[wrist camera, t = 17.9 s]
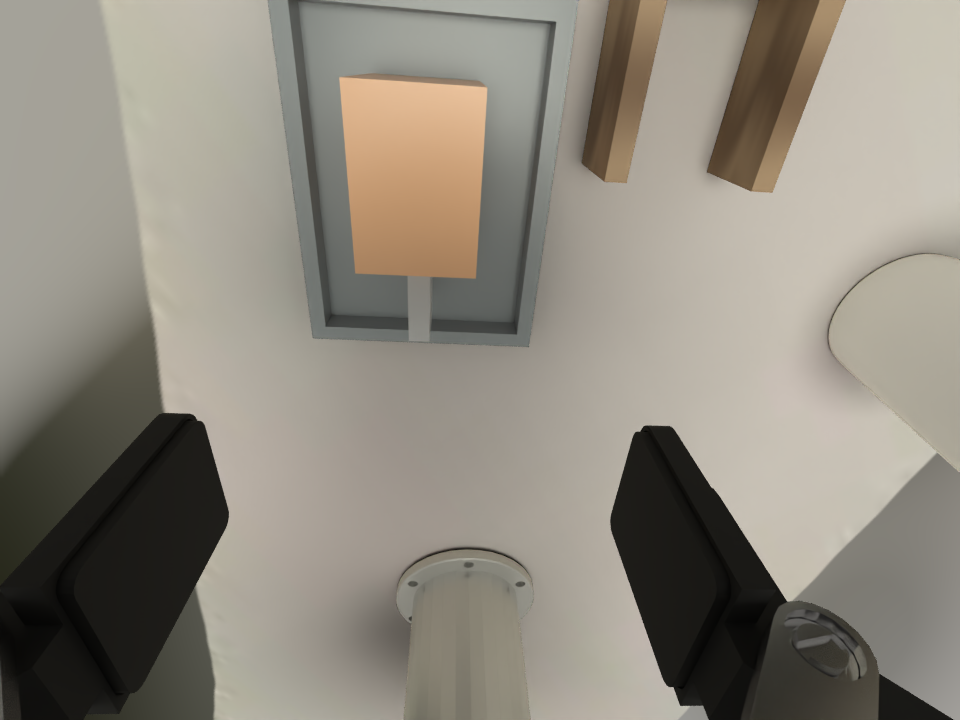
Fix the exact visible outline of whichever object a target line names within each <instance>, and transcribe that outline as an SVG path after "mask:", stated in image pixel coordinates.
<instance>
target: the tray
mask: <svg viewBox="0 0 960 720" xmlns="http://www.w3.org/2000/svg"><path fill="white" fill-rule="evenodd" d="M578 1H579V0H268V7H269V14H270V22H271V29H272V37H273V44H274V52H275V59H276V67H277V74H278V82H279V89H280V96H281V104H282V111H283V119H284V126H285V134H286V141H287V149H288V156H289V164H290V171H291V179H292V186H293V194H294V201H295V209H296V216H297V223H298V231H299V238H300V246H301V253H302V261H303V268H304V276H305V283H306V291H307V298H308V306H309V313H310V321H311V328H312V335H313V338H317V339H342V340H367V341H392V342H418V343H443V344H468V345H493V346H518V347H529V342H530V335H531V328H532V321H533V314H534V307H535V300H536V293H537V286H538V279H539V272H540V265H541V259H542V252H543V245H544V238H545V231H546V224H547V217H548V210H549V203H550V196H551V189H552V182H553V175H554V168H555V161H556V154H557V147H558V140H559V133H560V127H561V120H562V113H563V106H564V99H565V92H566V85H567V78H568V71H569V64H570V57H571V50H572V43H573V36H574V29H575V22H576V15H577V8H578ZM368 73H376V74H390V75H405V76H419V77H433V78H447V79H461V80H475V81H480V82H481V83H483V84H484V85H485V86H486V87H487V104H486V120H485V137H484V153H483V169H482V186H481V202H480V218H479V235H478V251H477V268H476V279H472V278H448V277H432V320H431V330H430V340H429V342H423V341H409V326H408V276H401V275H378V274H355V264H354V251H353V239H352V227H351V215H350V203H349V190H348V178H347V166H346V154H345V141H344V129H343V117H342V105H341V93H340V80H339V77H343V76H352V75H360V74H368Z"/></svg>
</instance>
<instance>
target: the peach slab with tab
mask: <svg viewBox="0 0 960 720" xmlns="http://www.w3.org/2000/svg"><path fill="white" fill-rule="evenodd" d="M339 80H340V93H341V105H342V117H343V129H344V141H345V154H346V166H347V178H348V190H349V203H350V215H351V227H352V239H353V251H354V264H355V274H378V275H401V276H408V326H409V341H423V342H429V340H430V330H431V320H432V277H448V278H472V279H476V268H477V251H478V235H479V218H480V202H481V186H482V169H483V153H484V137H485V120H486V104H487V87H486V86H485V85H484V84H483V83H481V82H480V81H475V80H461V79H447V78H433V77H419V76H405V75H390V74H376V73H368V74H360V75H352V76H343V77H339Z"/></svg>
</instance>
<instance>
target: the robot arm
mask: <svg viewBox="0 0 960 720" xmlns="http://www.w3.org/2000/svg"><path fill="white" fill-rule="evenodd" d="M228 518H229V511H228V507H227V503H226V500H225V496H224V492H223V489H222V485H221V482H220V478H219V475H218V471H217V467H216V464H215V460H214V457H213V453H212V450H211V446H210V442H209V439H208V435H207V432H206V428H205V425H204V423H203V422H202V421H197V419H196V417H195V416H194V415H192V414H178V413H162V414H159V415H158V416H157V417H156V418H155V419H154V420H153V421H152V422H151V423H150V424H149V425H148V426H147V427H146V428H145V430H144V431H143V432H142V433H141V434H140V435H139V436H138V437H137V438H136V439H135V440H134V442H133V443H132V444H131V445H130V446H129V447H128V448H127V449H126V450H125V451H124V452H123V453H122V455H121V456H120V457H119V458H118V459H117V460H116V461H115V462H114V463H113V464H112V465H111V466H110V468H109V469H108V470H107V471H106V472H105V473H104V474H103V475H102V476H101V477H100V478H99V479H98V480H97V482H96V483H95V484H94V485H93V486H92V487H91V488H90V489H89V490H88V491H87V492H86V494H85V495H84V496H83V497H82V498H81V499H80V500H79V501H78V502H77V503H76V504H75V505H74V506H73V507H72V509H71V510H70V511H69V512H68V513H67V514H66V515H65V516H64V517H63V518H62V520H61V521H60V522H59V523H58V524H57V525H56V526H55V527H54V528H53V529H52V530H51V531H50V533H48V535H47V536H46V537H45V538H44V539H43V540H42V541H41V542H40V543H39V544H38V545H37V547H36V548H35V549H34V550H33V551H32V552H31V553H30V554H29V555H28V556H27V557H26V558H25V559H24V561H23V562H22V563H21V564H20V565H19V566H18V567H17V568H16V569H15V570H14V571H13V573H12V574H11V575H10V576H9V577H8V578H7V579H6V580H5V581H4V582H3V583H2V584H1V585H0V720H83V719H84V718H85V716H86V714H119V713H120V711H121V709H122V707H123V705H124V704H125V702H126V700H127V698H128V696H129V694H130V693H135V692H136V691H138V690H139V688H140V687H141V686H142V685H143V683H144V681H145V680H146V678H147V676H148V674H149V672H150V670H151V668H152V666H153V665H154V663H155V661H156V659H157V657H158V655H159V653H160V651H161V650H162V648H163V646H164V644H165V642H166V640H167V638H168V636H169V634H170V632H171V631H172V629H173V627H174V625H175V623H176V621H177V619H178V617H179V615H180V613H181V612H182V610H183V608H184V606H185V604H186V602H187V600H188V599H189V597H190V595H191V593H192V591H193V589H194V587H195V585H196V583H197V582H198V580H199V578H200V576H201V574H202V572H203V570H204V568H205V567H206V565H207V563H208V561H209V559H210V557H211V555H212V553H213V551H214V550H215V548H216V546H217V544H218V542H219V540H220V538H221V536H222V534H223V533H224V531H225V529H226V526H227V523H228ZM610 523H611V531H612V534H613V537H614V540H615V543H616V546H617V548H618V551H619V554H620V557H621V560H622V563H623V566H624V569H625V571H626V574H627V577H628V580H629V583H630V586H631V589H632V592H633V594H634V597H635V600H636V603H637V606H638V609H639V612H640V615H641V617H642V620H643V623H644V626H645V629H646V632H647V635H648V638H649V640H650V643H651V646H652V649H653V652H654V655H655V658H656V661H657V663H658V666H659V669H660V672H661V675H662V677H663V680H664V682H665V683H666V685H667V686H668V687H674V690H675V692H676V695H677V698H678V701H679V704H680V706H696V705H697V706H701V705H703V706H704V709H705V711H706V714H707V716H708V719H709V720H953V719H952V718H950V717H948V716H947V715H945V714H944V713H942V712H940V711H938V710H937V709H935V708H934V707H932V706H930V705H929V704H927V703H926V702H924V701H923V700H921V699H919V698H918V697H916V696H914V695H913V694H911V693H910V692H908V691H906V690H904V689H903V688H901V687H900V686H898V685H897V684H895V683H893V682H892V681H890V680H889V679H887V678H885V677H883V676H882V675H881V674H879V670H878V665H877V660H876V658H875V656H874V654H873V652H872V650H871V648H870V646H869V645H868V644H867V643H866V641H865V640H864V639H863V638H862V636H861V635H860V634H859V633H858V632H857V631H856V630H855V629H854V628H853V627H852V626H850V625H849V624H848V623H847V622H846V621H845V620H843V619H842V618H840V617H839V616H837V615H836V614H834V613H832V612H831V611H829V610H827V609H825V608H823V607H820V606H818V605H816V604H813V603H808V602H803V601H790V602H787V601H786V599H785V598H784V596H783V594H782V593H781V591H780V590H779V588H778V587H777V585H776V584H775V582H774V580H773V579H772V577H771V576H770V574H769V573H768V571H767V570H766V568H765V566H764V565H763V563H762V562H761V560H760V559H759V557H758V556H757V554H756V552H755V551H754V549H753V548H752V546H751V545H750V543H749V542H748V540H747V538H746V537H745V535H744V534H743V532H742V531H741V529H740V528H739V526H738V524H737V523H736V521H735V520H734V518H733V517H732V515H731V514H730V512H729V510H728V509H727V507H726V506H725V504H724V503H723V501H722V500H721V498H720V496H719V495H718V494H717V493H716V491H715V490H714V489H713V488H711V486H710V485H709V483H708V482H707V480H706V479H705V477H704V475H703V474H702V472H701V471H700V469H699V468H698V466H697V464H696V463H695V461H694V460H693V458H692V457H691V455H690V453H689V452H688V450H687V449H686V447H685V446H684V444H683V442H682V441H681V439H680V438H679V436H678V435H677V433H676V432H675V430H674V429H673V428H672V427H670V426H644V427H643V428H642V430H641V432H635V434H634V435H633V438H632V442H631V445H630V449H629V453H628V456H627V460H626V463H625V467H624V470H623V474H622V478H621V481H620V485H619V488H618V492H617V495H616V499H615V503H614V506H613V510H612V513H611V519H610ZM533 596H534V593H533V586H532V581H531V579H530V576H529V574H528V573H527V572H526V571H525V569H524V568H523V567H522V566H520V565H519V564H518V563H516V562H515V561H513V560H511V559H509V558H507V557H505V556H503V555H500V554H496V553H493V552H488V551H482V550H467V549H465V550H453V551H447V552H443V553H438V554H435V555H433V556H430V557H427V558H425V559H423V560H421V561H419V562H417V563H416V564H414V565H413V566H412V567H411V568H409V569H408V570H407V571H406V572H405V573H404V575H403V576H402V577H401V579H400V581H399V584H398V588H397V595H396V605H397V607H398V610H399V612H400V614H401V615H402V616H403V618H404V619H405V620H406V621H408V622H409V623H410V624H411V634H410V646H409V658H408V671H407V683H406V695H405V707H404V720H531V718H530V710H529V701H528V692H527V683H526V674H525V665H524V656H523V647H522V638H521V629H520V620H521V619H522V618H523V617H524V616H525V615H526V614H527V612H528V611H529V609H530V608H531V605H532V603H533Z"/></svg>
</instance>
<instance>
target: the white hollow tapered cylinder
mask: <svg viewBox="0 0 960 720" xmlns="http://www.w3.org/2000/svg"><path fill="white" fill-rule="evenodd" d="M829 345H830V349H831V351H832V353H833V355H834V356H835V358H836V359H837V360H838V361H839V362H840V363H841V364H842V365H843V366H844V367H845V368H846V369H847V370H848V371H849V372H850V373H851V374H852V375H853V376H854V377H855V378H856V379H857V380H859V381H860V382H861V383H862V384H863V385H864V386H865V387H866V388H867V389H868V390H869V391H871V392H872V393H873V394H874V395H875V396H876V397H877V398H878V399H879V400H880V401H881V402H883V403H884V404H885V405H886V406H887V407H888V408H889V409H890V410H891V411H892V412H894V413H895V414H896V415H897V416H898V417H899V418H900V419H901V420H902V421H903V422H905V423H906V424H907V425H908V426H909V427H910V428H911V429H912V430H913V431H914V432H916V433H917V434H918V435H919V436H920V437H921V438H922V439H923V440H924V441H925V442H927V443H928V444H929V445H930V446H931V447H932V448H933V449H934V450H935V451H936V452H938V453H939V454H940V455H941V456H942V457H943V458H944V459H945V460H946V461H947V462H949V463H950V464H951V465H952V466H953V467H954V468H955V469H956V470H957V471H959V472H960V259H956V258H952V257H949V256H944V255H938V254H919V255H913V256H909V257H905V258H902V259H899V260H896V261H893V262H891V263H889V264H887V265H885V266H883V267H881V268H879V269H877V270H876V271H874V272H873V273H871V274H870V275H868V276H867V277H866V278H864V279H863V280H862V281H861V282H859V283H858V284H857V285H856V286H855V287H854V288H853V289H852V290H851V291H850V292H849V293H848V294H847V296H846V297H845V298H844V299H843V301H842V302H841V303H840V305H839V306H838V308H837V310H836V312H835V314H834V316H833V318H832V321H831V324H830V328H829Z"/></svg>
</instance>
